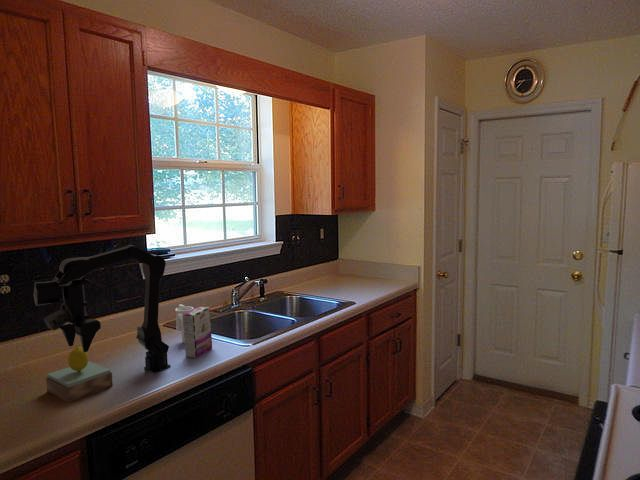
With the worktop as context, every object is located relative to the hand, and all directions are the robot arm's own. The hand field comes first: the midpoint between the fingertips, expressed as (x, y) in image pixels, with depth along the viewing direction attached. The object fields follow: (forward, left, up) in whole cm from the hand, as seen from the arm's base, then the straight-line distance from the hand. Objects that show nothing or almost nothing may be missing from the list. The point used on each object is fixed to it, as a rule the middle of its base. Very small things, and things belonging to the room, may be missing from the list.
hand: (78, 348), depth 146 cm
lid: (0, 0, -8) cm, 8 cm away
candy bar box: (-42, +5, -13) cm, 44 cm away
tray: (0, 0, -13) cm, 13 cm away
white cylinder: (-47, -9, -13) cm, 49 cm away
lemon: (0, 0, -8) cm, 8 cm away
